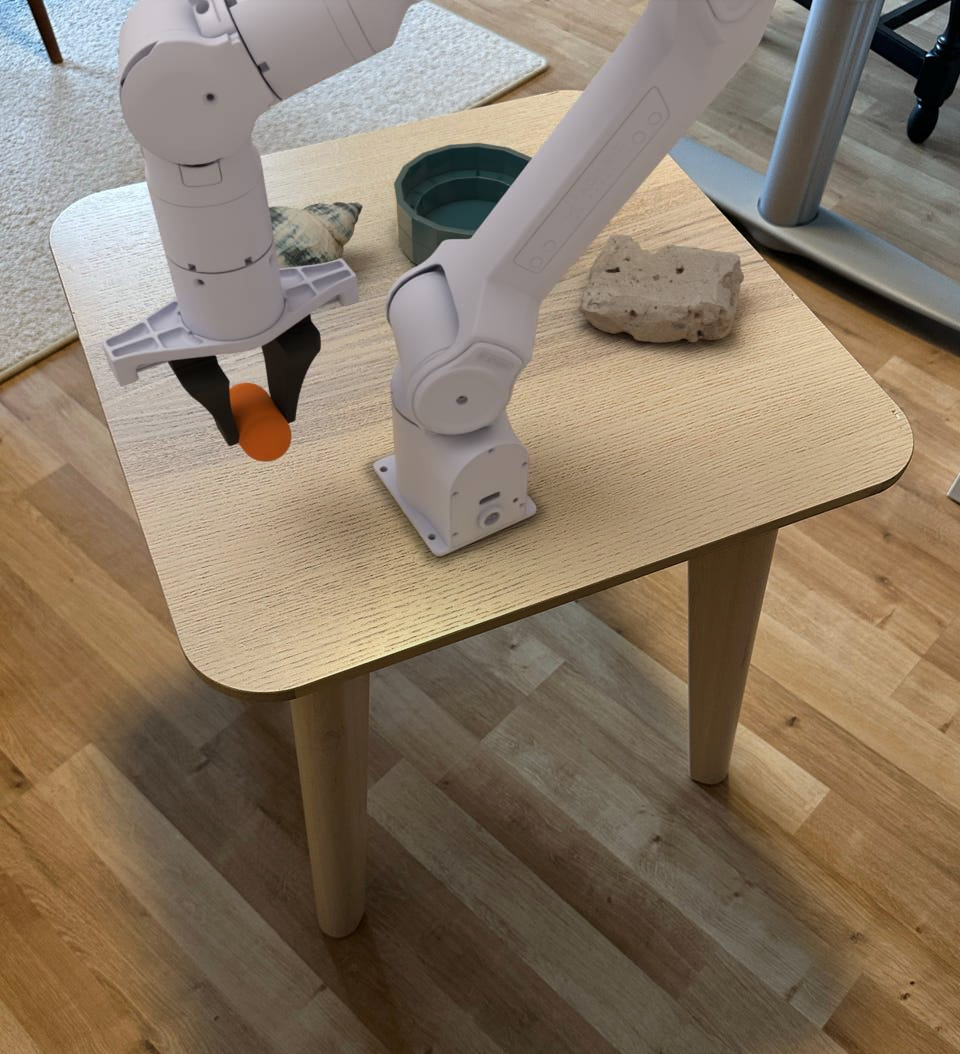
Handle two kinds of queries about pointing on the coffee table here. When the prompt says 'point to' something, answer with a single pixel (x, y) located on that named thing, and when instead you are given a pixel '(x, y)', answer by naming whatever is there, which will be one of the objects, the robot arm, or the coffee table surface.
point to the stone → (662, 291)
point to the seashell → (312, 232)
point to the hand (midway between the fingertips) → (257, 423)
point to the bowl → (451, 193)
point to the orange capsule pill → (259, 423)
